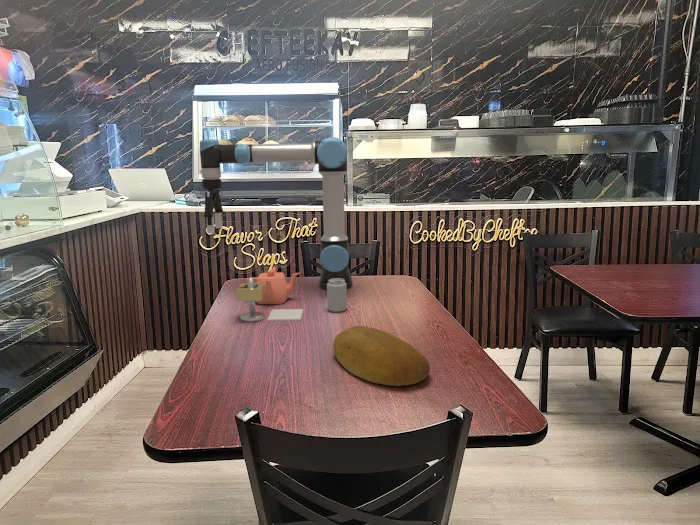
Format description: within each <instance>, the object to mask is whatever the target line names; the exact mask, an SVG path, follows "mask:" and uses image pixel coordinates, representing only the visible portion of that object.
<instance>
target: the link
mask: <svg viewBox="0 0 700 525" xmlns="http://www.w3.org/2000/svg"><path fill="white" fill-rule="evenodd" d="M253 283H254V288H248V283H246V282H245V283H240V284H239V285H238V287H237V288H236V290H235V296H236V301H238V302H239V301H241V302H244V301H249V300H262V299H263V297H264V296H265V294H266V291H265V283H257V282H256V283H255V282H253Z"/></svg>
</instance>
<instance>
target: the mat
mask: <svg viewBox="0 0 700 525" xmlns="http://www.w3.org/2000/svg"><path fill="white" fill-rule="evenodd" d="M303 313H304V308H295V309H294V308H289V309H285V308H284V309H283V308H282V309H276V308H275V309H271V311H270V312H269V316H268V317H267V322H286V321H287V322H294V321H296V322H297V321H302V316H303Z"/></svg>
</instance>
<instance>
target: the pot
mask: <svg viewBox="0 0 700 525" xmlns="http://www.w3.org/2000/svg"><path fill="white" fill-rule="evenodd" d="M300 274H301V272H294V273H293V274H292V275H291V276H290V281H289V283H287V279H286V275H285V274H284V272H282V271H281V272H280V271H278V272H277V268H276V266H272V268H271V270H267V271H266V272H261V273H260V274H259V275H258V276H257V277H254V276H252V277H247V278H246V279H245V283H248V278H253V281H256V283H265V291H266V294H265V296H264V297H263V299H262V300H260V301H257V302H256V303H257V304H258V305H280V304H281V305H282V304H284V303H286V302H287V299H288V296H289V293H291V292H292V291H293V290H294V286H295V280H296V278H297V276H298V275H300Z"/></svg>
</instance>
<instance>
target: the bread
mask: <svg viewBox="0 0 700 525" xmlns="http://www.w3.org/2000/svg"><path fill="white" fill-rule="evenodd" d="M332 344H333V347H332V348H333V353H334V355H335V358H336V359H337V361H338V363H339V364H340V365H341V366H342V367H343V368H345V369H346V371H348V372H350V373H351V374H352V375H354V376H356V377H358V378H360V379H363V380H364V381H367V382H370V383H374V384H380V385H385V386H393V387H401V386H410V385H416V384H418V383H420V382H422V381H423V380H425V379H426V378H427V377H428V376H429V374H430V370H431V369H430V364H429V361H428V360H427V358H426V357H425V356H424V355H423V353H421V352H420V351H419V350H418V349H417V348H416V347H414V346H413V345H411V344H410V343H408V342H407V341H405V340H403V339H401V337H398V336H396V335H394V334H391V333H389V332H387V331H384V330H381V329H378V328H375V327H370V326H363V325H355V326H352V327H349V328H346V329H344V330H341V331H340V332H339V333H337V335H336V336H335V337H334V340H333V343H332Z"/></svg>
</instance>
